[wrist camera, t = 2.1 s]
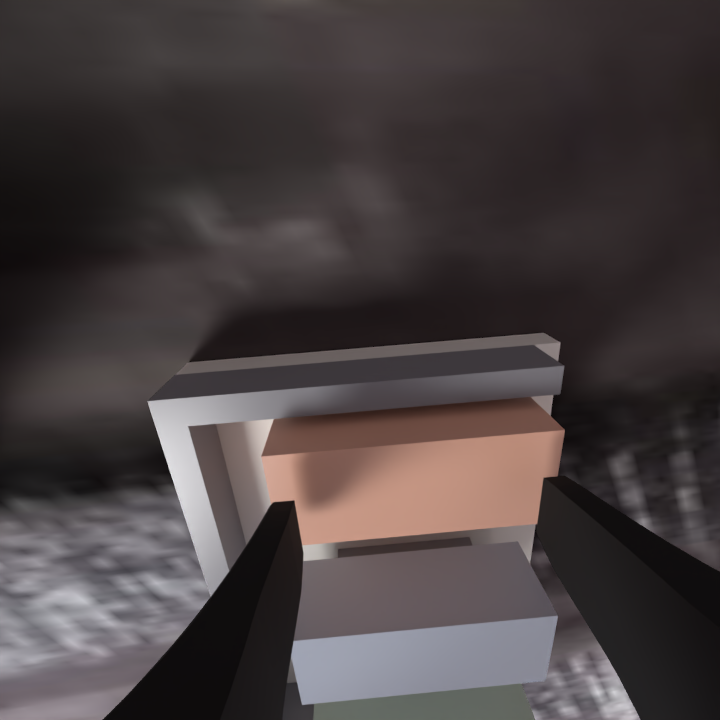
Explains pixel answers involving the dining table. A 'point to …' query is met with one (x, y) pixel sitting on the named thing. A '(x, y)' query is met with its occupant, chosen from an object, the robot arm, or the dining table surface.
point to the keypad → (319, 397)
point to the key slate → (420, 623)
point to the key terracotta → (413, 468)
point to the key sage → (435, 706)
